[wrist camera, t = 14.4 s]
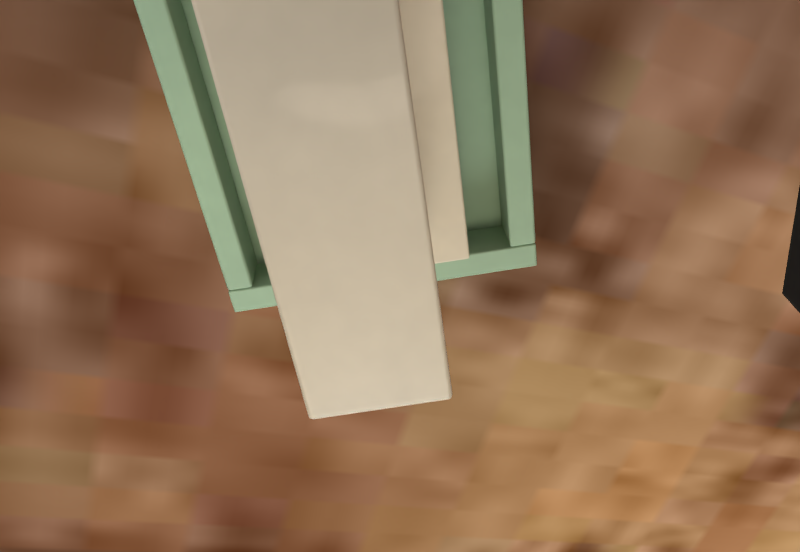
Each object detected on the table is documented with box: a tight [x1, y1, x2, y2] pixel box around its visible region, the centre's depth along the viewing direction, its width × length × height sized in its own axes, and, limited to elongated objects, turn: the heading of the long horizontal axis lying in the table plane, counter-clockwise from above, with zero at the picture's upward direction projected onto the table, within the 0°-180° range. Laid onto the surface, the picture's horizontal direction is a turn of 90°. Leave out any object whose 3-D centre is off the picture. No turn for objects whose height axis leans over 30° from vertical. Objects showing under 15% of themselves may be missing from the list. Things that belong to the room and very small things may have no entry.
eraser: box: [191, 0, 470, 419], centre depth 16 cm, size 11×6×9 cm, turn 8°
